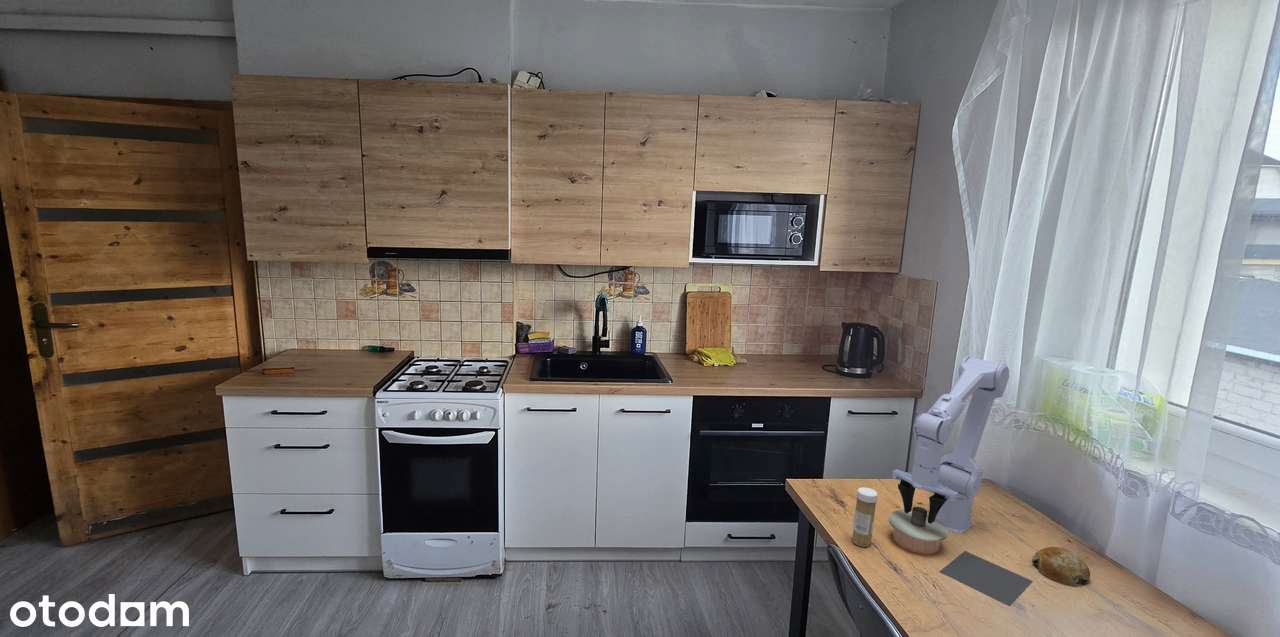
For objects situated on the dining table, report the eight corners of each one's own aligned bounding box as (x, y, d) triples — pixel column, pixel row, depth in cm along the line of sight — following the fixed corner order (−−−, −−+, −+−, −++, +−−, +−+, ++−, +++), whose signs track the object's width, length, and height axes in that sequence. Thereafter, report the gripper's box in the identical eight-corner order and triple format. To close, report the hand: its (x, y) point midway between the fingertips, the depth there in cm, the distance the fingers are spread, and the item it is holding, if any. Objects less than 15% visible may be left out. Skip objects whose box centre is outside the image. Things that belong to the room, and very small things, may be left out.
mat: (964, 552, 136) (965, 550, 136) (1032, 583, 125) (1032, 581, 125) (938, 573, 127) (939, 571, 127) (1009, 608, 116) (1009, 606, 116)
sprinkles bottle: (875, 544, 137) (882, 492, 135) (863, 550, 135) (870, 497, 132) (858, 535, 141) (865, 484, 139) (847, 540, 138) (853, 489, 136)
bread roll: (1059, 603, 124) (1083, 583, 120) (1018, 562, 132) (1040, 541, 127) (1083, 591, 129) (1107, 571, 125) (1042, 552, 136) (1064, 531, 132)
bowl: (904, 527, 146) (907, 511, 145) (945, 546, 138) (948, 529, 137) (885, 540, 139) (887, 523, 139) (926, 560, 132) (929, 542, 131)
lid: (904, 507, 147) (906, 492, 146) (957, 530, 137) (959, 513, 136) (878, 522, 139) (880, 506, 138) (932, 547, 129) (935, 530, 128)
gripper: (889, 457, 138) (882, 508, 140) (951, 479, 127) (943, 535, 129) (903, 450, 143) (896, 500, 145) (964, 472, 132) (956, 526, 134)
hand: (919, 516), depth 138 cm, fingers open, 5 cm apart
